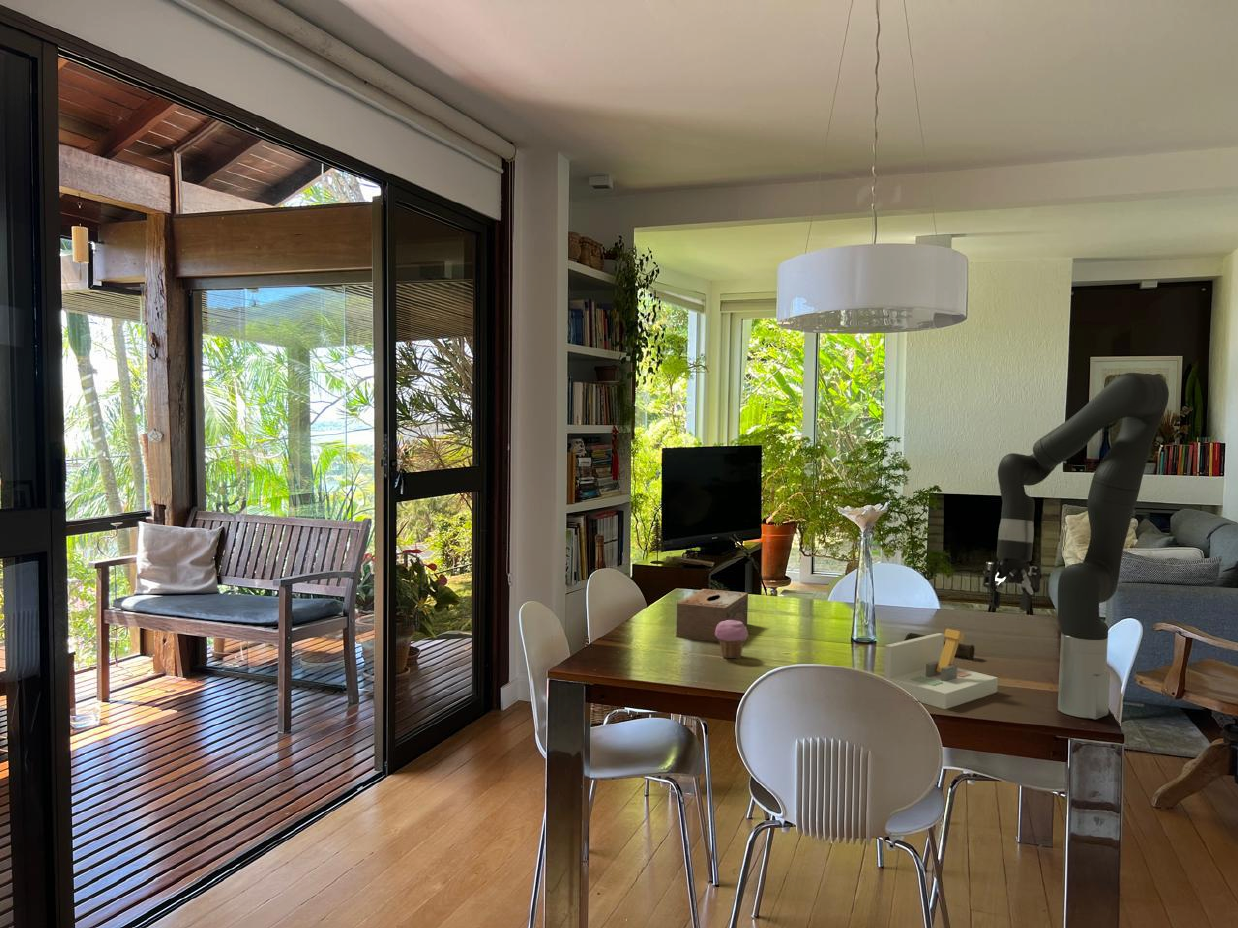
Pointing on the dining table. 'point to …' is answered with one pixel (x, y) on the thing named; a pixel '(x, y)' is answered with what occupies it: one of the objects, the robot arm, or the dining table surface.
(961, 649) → the hand tool
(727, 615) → the tissue box cover
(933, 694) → the white switch base
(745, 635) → the cupcake
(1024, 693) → the dining table surface
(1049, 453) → the robot arm
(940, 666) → the lever
